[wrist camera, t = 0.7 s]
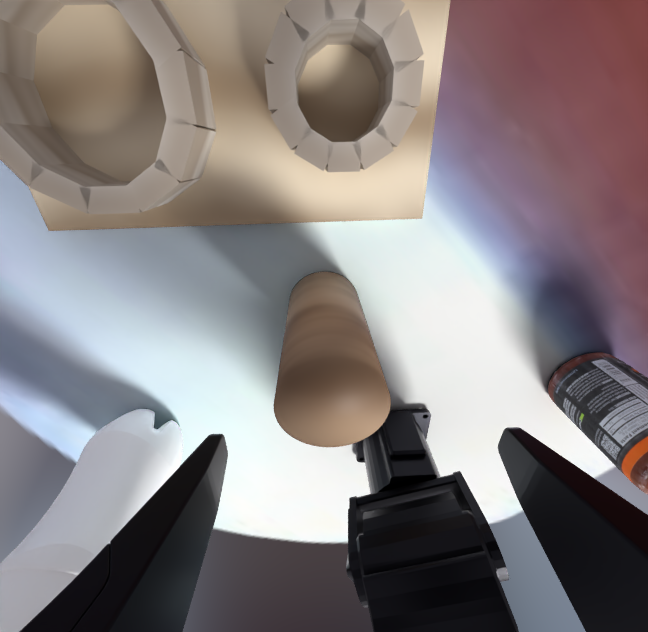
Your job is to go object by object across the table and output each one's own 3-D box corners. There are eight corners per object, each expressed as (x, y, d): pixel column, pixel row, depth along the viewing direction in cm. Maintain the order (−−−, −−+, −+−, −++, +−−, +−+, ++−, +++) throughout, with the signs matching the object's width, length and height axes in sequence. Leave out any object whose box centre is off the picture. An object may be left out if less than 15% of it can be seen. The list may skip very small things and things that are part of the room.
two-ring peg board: (416, 215, 19) (441, 229, 15) (61, 226, 18) (2, 244, 15) (451, -72, 13) (503, -155, 9) (-67, -65, 12) (-215, -149, 9)
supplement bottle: (625, 377, 26) (818, 515, 16) (559, 412, 28) (696, 555, 18) (603, 336, 24) (812, 467, 14) (532, 376, 26) (673, 518, 16)
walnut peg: (357, 332, 23) (386, 444, 14) (292, 334, 23) (279, 449, 14) (359, 270, 20) (395, 358, 12) (286, 272, 20) (267, 364, 11)
